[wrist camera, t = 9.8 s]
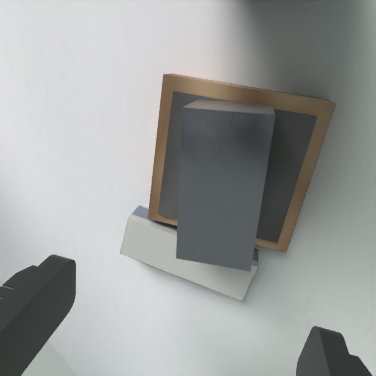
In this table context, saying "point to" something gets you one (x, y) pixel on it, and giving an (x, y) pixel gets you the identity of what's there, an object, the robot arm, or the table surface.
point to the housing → (222, 180)
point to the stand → (278, 157)
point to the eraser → (166, 259)
